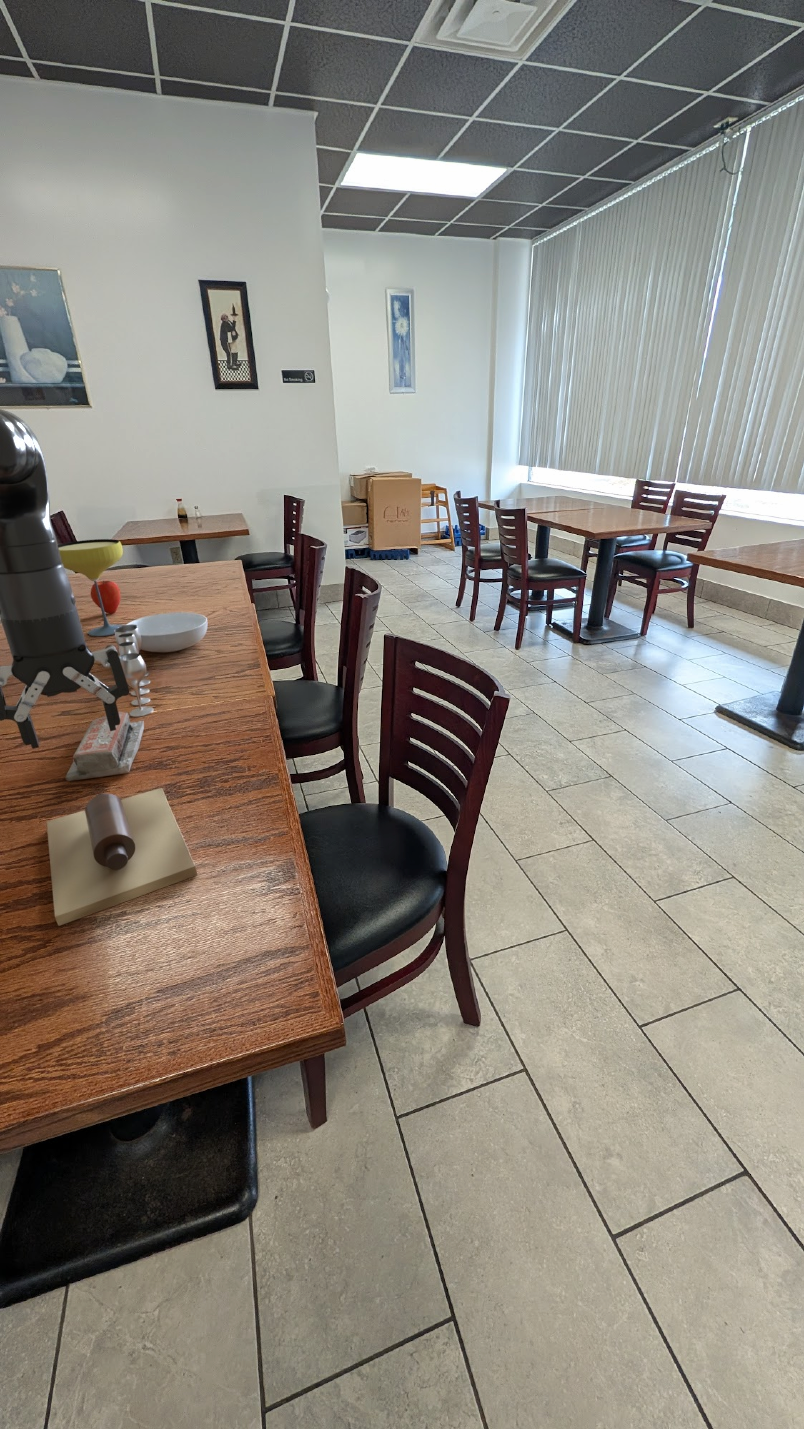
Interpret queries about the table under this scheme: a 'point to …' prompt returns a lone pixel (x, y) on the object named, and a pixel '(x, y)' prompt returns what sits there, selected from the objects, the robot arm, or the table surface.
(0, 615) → the robot arm
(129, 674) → the goblet set
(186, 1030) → the table surface
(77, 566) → the cocktail glass
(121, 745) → the packaged product
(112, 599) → the apple
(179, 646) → the serving bowl
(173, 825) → the pastry board
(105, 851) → the rolling pin
